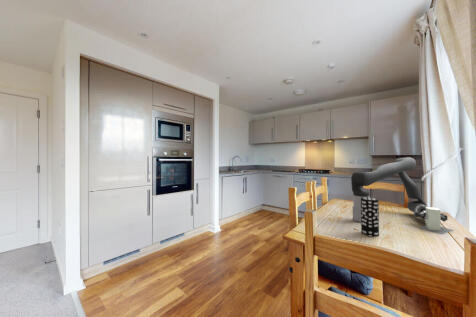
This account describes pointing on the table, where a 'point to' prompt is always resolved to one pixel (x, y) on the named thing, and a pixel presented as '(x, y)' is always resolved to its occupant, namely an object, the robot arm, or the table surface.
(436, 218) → the sage block
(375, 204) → the spotted tube
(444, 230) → the mat
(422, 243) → the table surface
